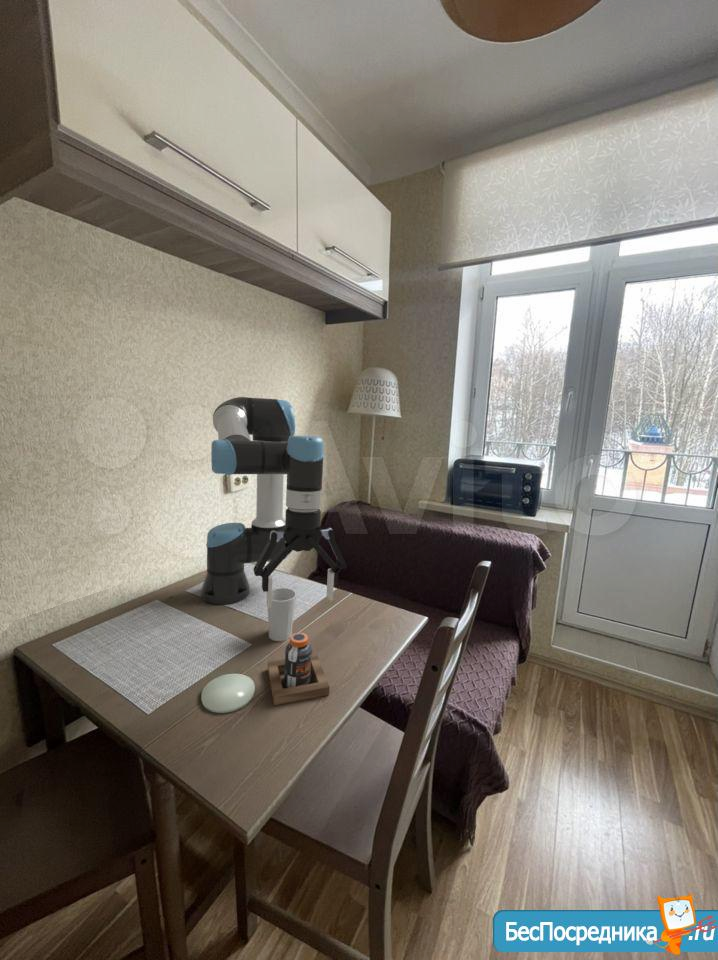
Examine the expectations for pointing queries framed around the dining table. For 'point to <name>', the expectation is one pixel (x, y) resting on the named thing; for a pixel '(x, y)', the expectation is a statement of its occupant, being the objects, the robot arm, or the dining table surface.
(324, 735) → the dining table surface
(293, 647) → the pill bottle
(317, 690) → the open wooden frame
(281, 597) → the cup
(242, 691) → the pale green rounded part
